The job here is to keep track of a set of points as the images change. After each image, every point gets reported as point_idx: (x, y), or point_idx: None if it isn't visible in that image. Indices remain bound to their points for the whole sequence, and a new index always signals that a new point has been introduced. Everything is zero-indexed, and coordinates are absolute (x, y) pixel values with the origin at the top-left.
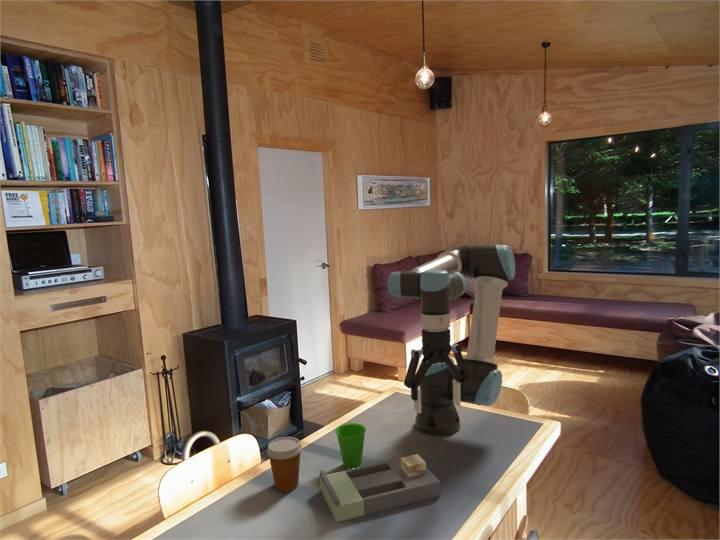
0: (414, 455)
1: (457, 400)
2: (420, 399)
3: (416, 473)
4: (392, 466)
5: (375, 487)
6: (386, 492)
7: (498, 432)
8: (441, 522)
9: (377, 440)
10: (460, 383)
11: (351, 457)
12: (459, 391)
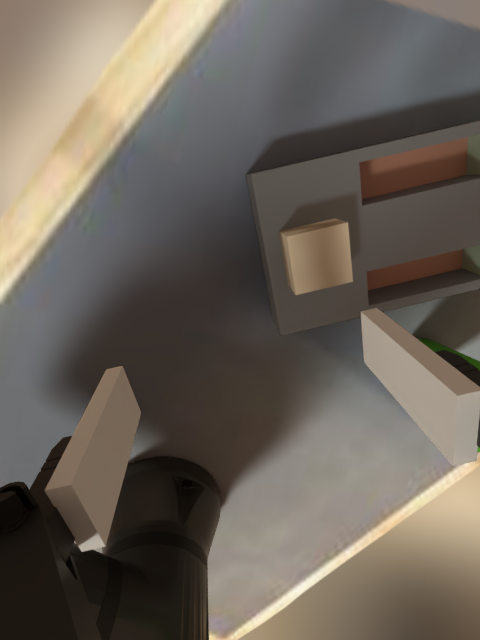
0: (307, 288)
1: (117, 391)
2: (408, 349)
3: (311, 225)
4: (360, 286)
5: (439, 187)
6: (424, 145)
7: (5, 457)
8: (281, 34)
9: (325, 452)
10: (46, 496)
11: (447, 348)
12: (82, 428)
